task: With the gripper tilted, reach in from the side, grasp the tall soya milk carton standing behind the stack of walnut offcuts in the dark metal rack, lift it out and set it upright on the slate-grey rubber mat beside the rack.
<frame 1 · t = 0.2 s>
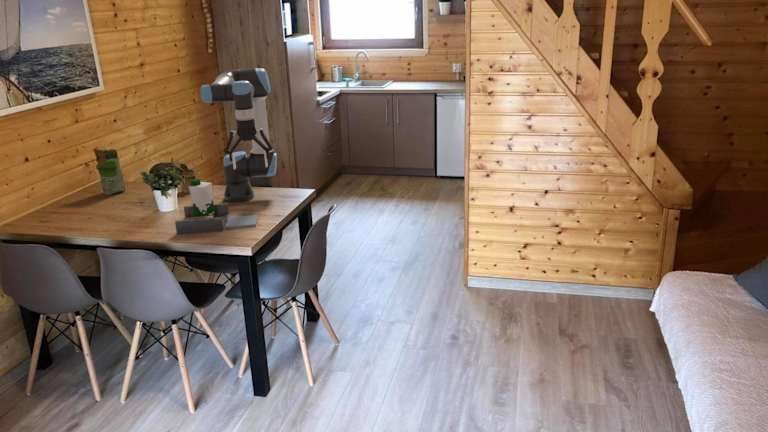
hand: (250, 167, 273), 28 cm above the table, tool pointing down, fingers open, 13 cm apart
pouch: (113, 193, 344), on the table
offcut stack: (202, 228, 285), resting in rack
soya milk: (205, 222, 293), resting in rack
mat: (242, 222, 290), on the table
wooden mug: (187, 190, 343), on the table
rack: (204, 224, 289), on the table
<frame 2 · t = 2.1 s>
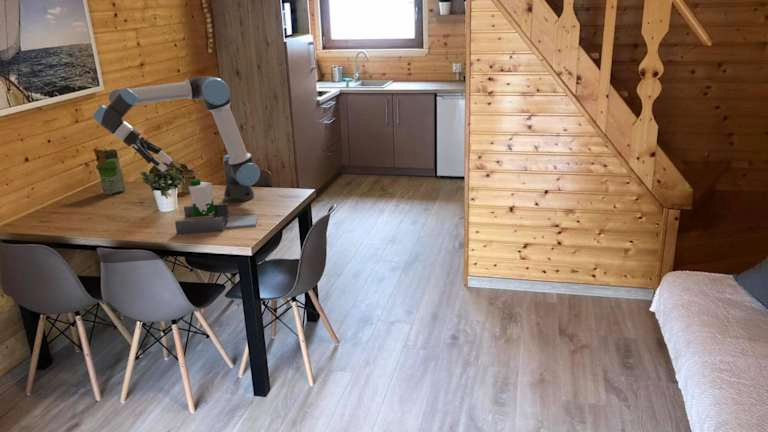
hand: (168, 165, 282), 28 cm above the table, tool tilted 45°, fingers open, 13 cm apart
nothing on the table moved.
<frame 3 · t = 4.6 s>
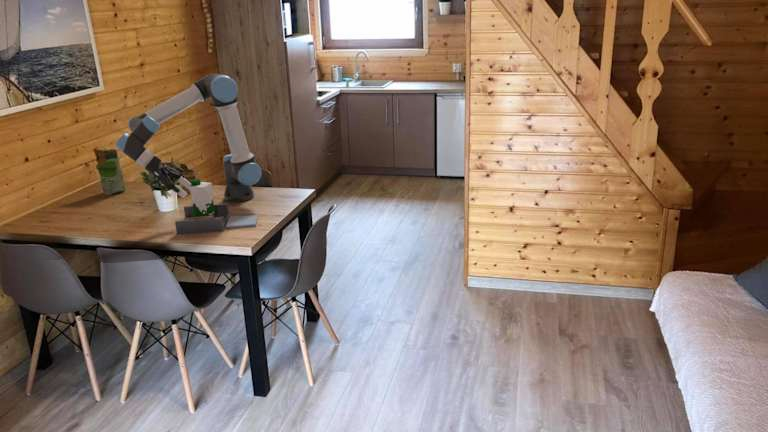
hand: (188, 191, 287), 15 cm above the table, tool tilted 45°, fingers open, 13 cm apart
nothing on the table moved.
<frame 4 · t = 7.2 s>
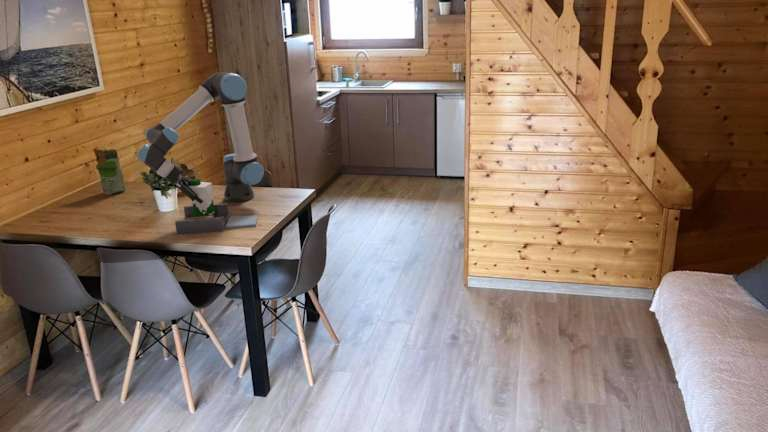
hand: (210, 203, 291), 9 cm above the table, tool tilted 45°, fingers closed on soya milk, 9 cm apart
soya milk: (205, 222, 293), resting in rack, touching gripper
everything else where it was.
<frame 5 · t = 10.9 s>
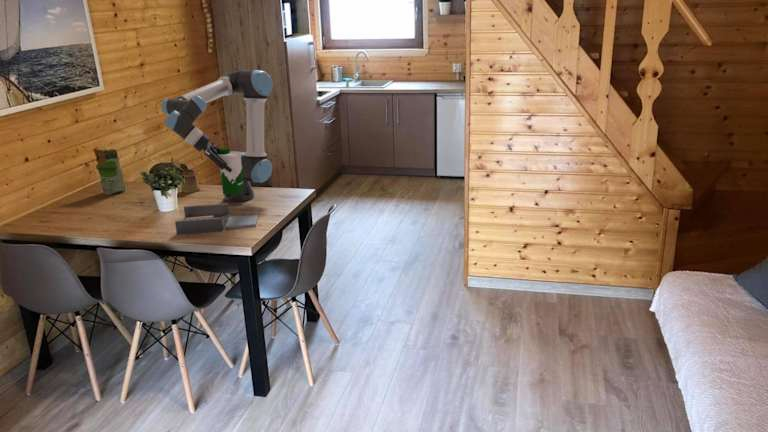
hand: (238, 172, 282), 24 cm above the table, tool tilted 45°, fingers closed on soya milk, 9 cm apart
soya milk: (233, 192, 285), point 15 cm above the table, touching gripper
everything else where it was.
when the fingers open (11 cm above the table, at t = 14.7 s): soya milk drops 1 cm, resting on mat.
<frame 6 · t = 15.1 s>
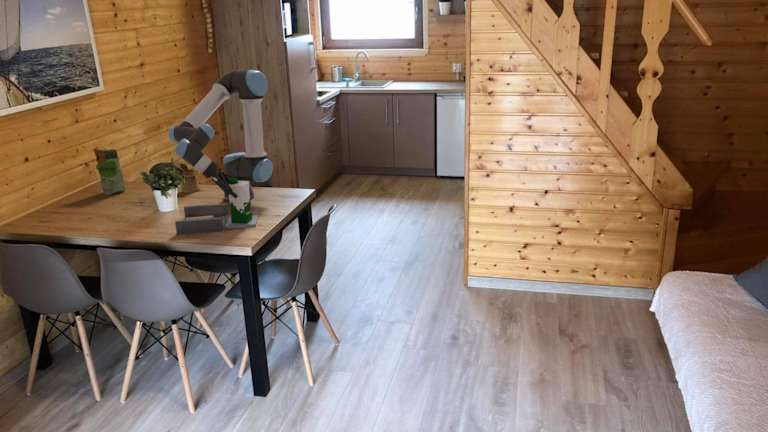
hand: (244, 196, 286), 12 cm above the table, tool tilted 45°, fingers open, 13 cm apart
soya milk: (242, 221, 289), point 1 cm above the table, touching mat
everything else where it was.
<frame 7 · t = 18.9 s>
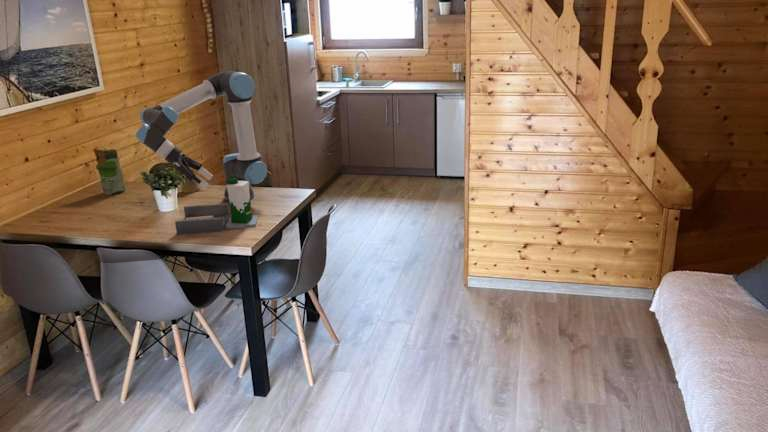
hand: (209, 182, 283), 20 cm above the table, tool tilted 45°, fingers open, 13 cm apart
nothing on the table moved.
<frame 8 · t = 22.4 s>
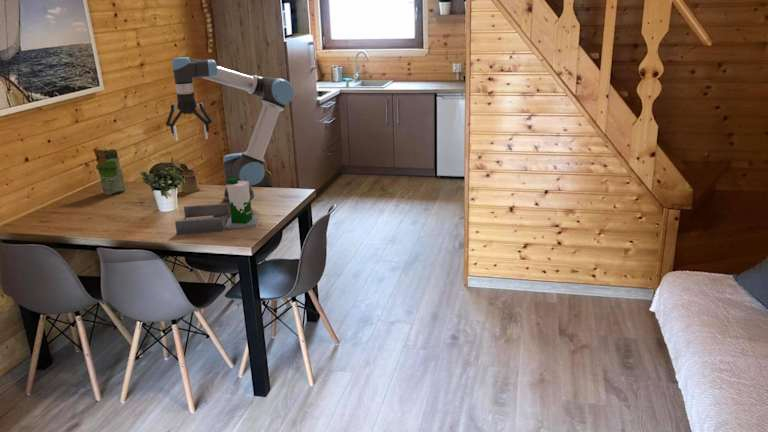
hand: (191, 139, 290), 37 cm above the table, tool pointing down, fingers open, 13 cm apart
nothing on the table moved.
at the end: soya milk inside the target area on the mat (0.4 cm from its centre), point 0.8 cm above the mat's base; soya milk tilted 0°; the gripper is holding nothing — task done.
